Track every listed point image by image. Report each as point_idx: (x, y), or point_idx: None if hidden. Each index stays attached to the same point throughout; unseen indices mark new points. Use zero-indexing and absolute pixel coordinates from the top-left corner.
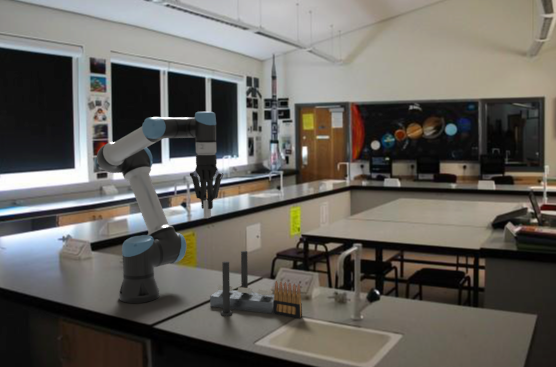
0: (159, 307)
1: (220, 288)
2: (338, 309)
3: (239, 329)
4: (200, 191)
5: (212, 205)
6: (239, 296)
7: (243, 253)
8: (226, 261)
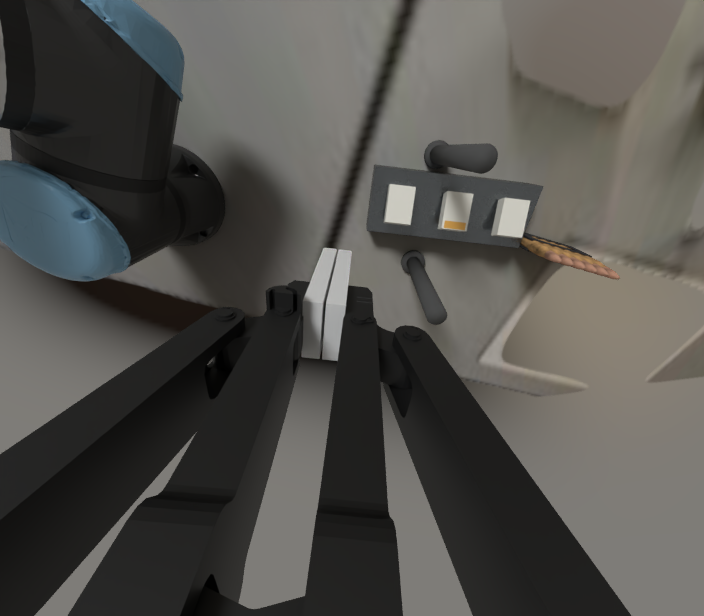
0: (264, 252)
1: (391, 223)
2: (676, 178)
3: (449, 322)
4: (208, 362)
5: (371, 304)
6: (438, 220)
7: (479, 172)
8: (437, 308)
